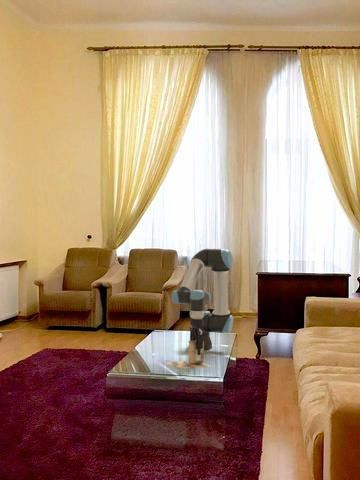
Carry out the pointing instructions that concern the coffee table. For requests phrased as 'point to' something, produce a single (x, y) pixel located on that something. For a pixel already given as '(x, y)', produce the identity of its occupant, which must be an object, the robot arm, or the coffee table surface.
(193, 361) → the block
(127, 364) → the coffee table surface
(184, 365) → the board
